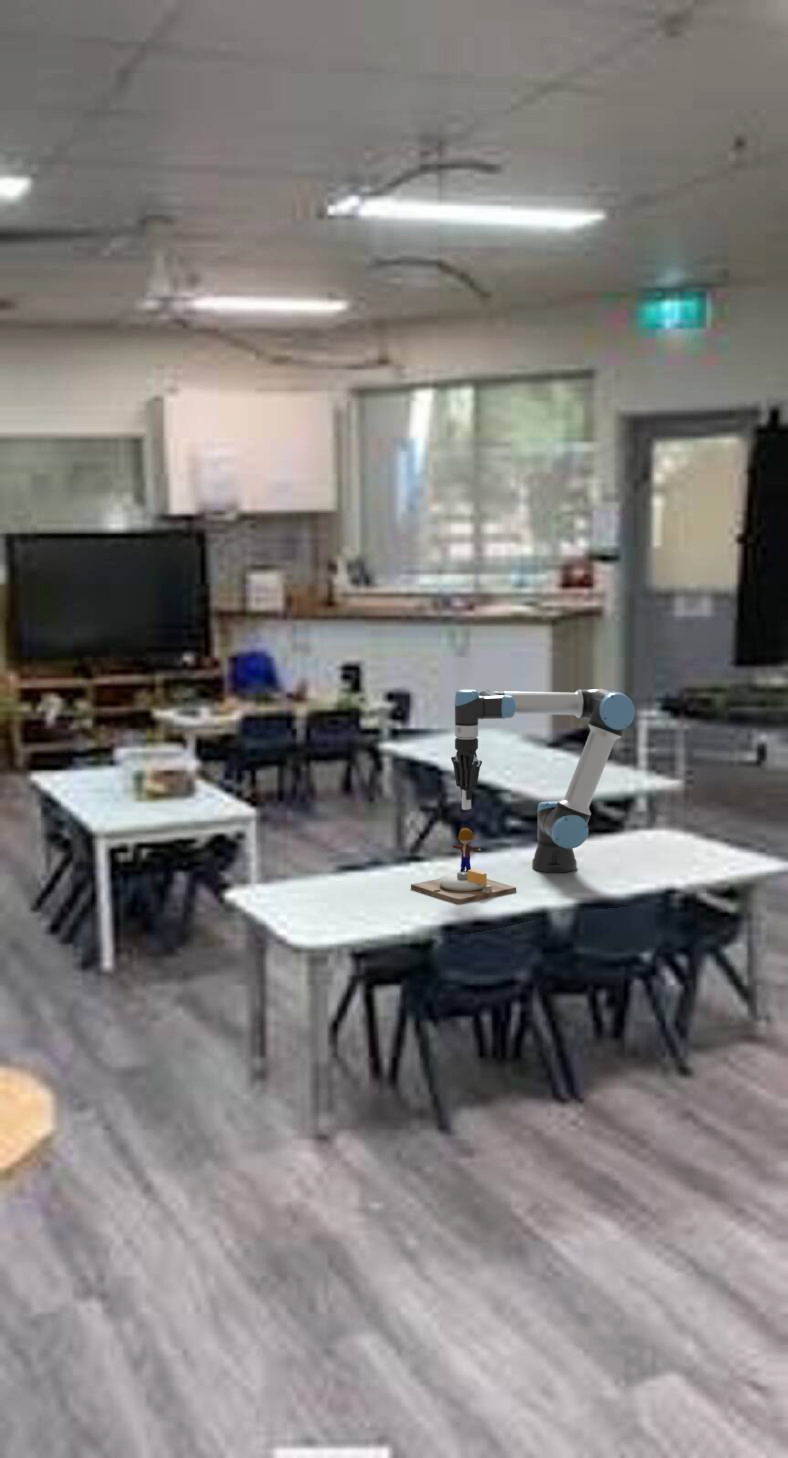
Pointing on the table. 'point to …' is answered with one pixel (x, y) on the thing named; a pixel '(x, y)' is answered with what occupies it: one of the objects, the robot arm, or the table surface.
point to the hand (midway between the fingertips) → (466, 809)
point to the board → (463, 896)
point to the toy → (465, 848)
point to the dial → (464, 881)
